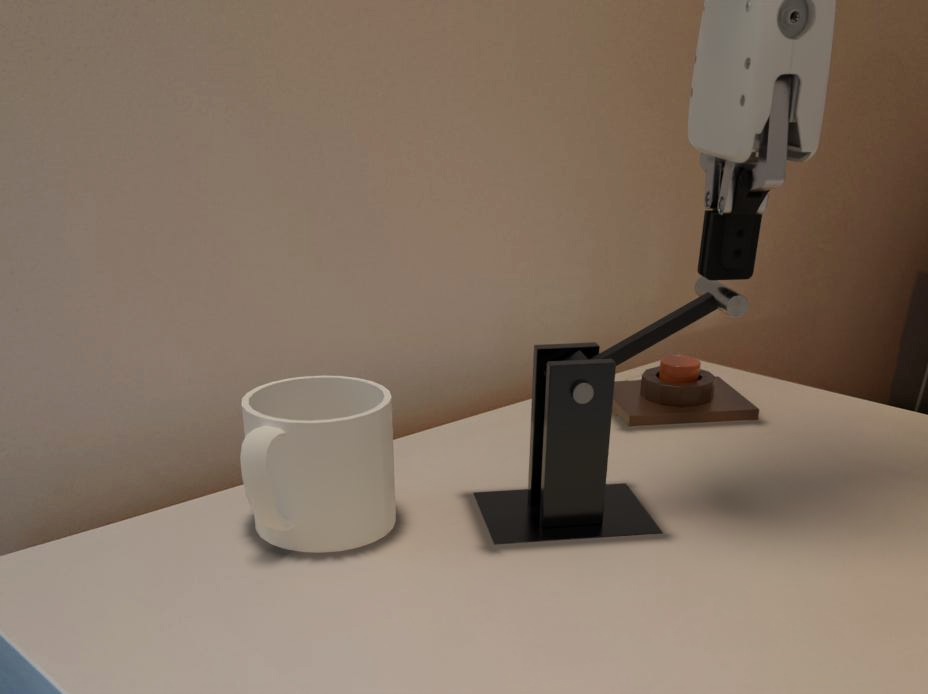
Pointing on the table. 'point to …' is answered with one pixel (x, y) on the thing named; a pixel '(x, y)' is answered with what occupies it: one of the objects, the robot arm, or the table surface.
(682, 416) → the button box
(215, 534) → the table surface
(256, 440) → the mug
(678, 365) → the button
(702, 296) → the lever
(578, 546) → the table surface
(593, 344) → the bracket
